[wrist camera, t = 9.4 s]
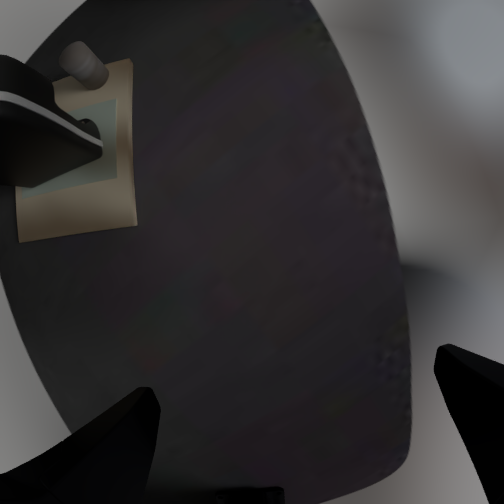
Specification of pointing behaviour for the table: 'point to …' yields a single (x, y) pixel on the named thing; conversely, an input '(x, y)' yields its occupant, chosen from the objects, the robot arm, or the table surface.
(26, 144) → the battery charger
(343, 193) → the table surface
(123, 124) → the peg board
